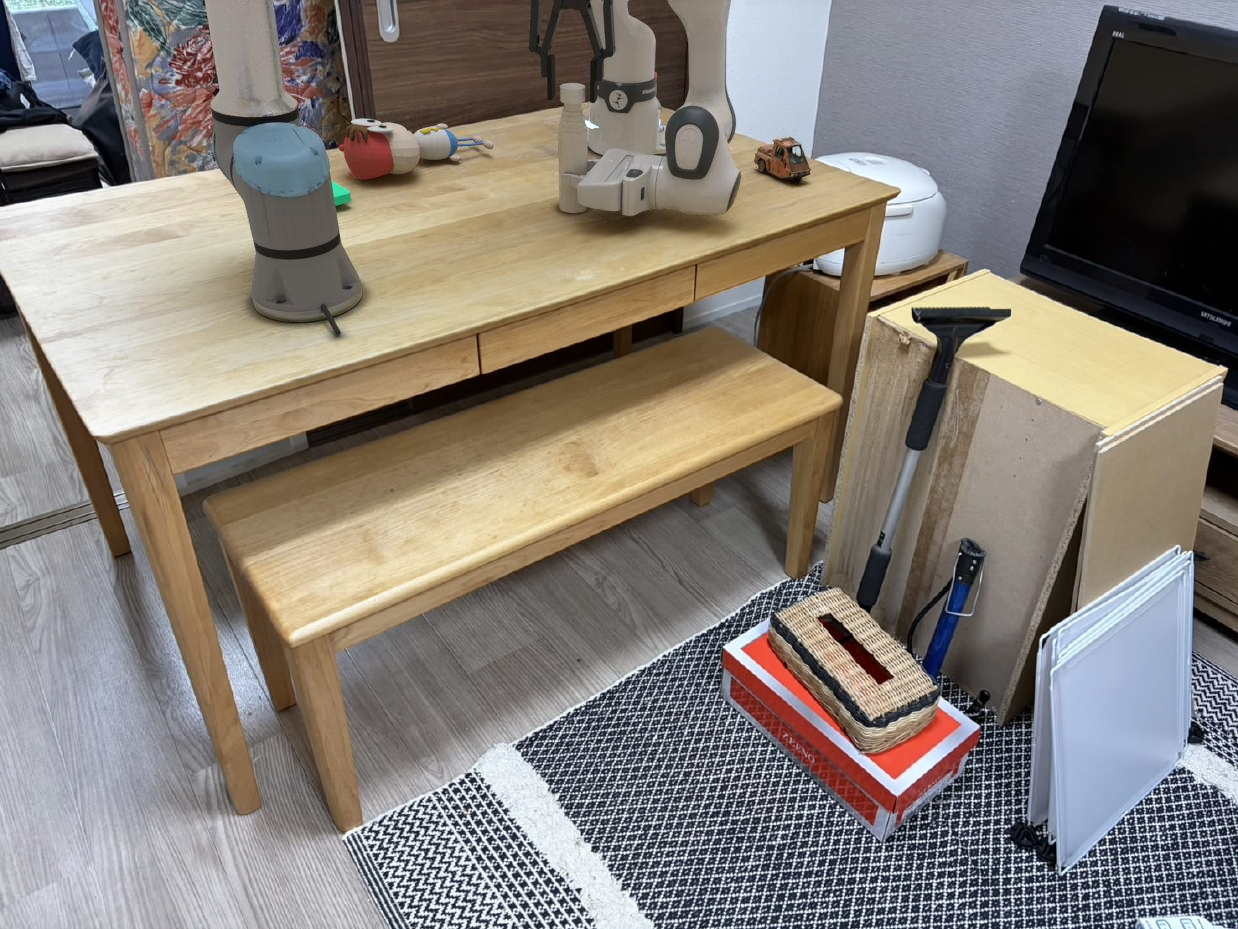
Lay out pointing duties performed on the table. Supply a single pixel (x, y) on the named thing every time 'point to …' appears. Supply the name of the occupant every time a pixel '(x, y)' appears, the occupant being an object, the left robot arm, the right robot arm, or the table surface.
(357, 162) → the toy
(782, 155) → the toy car
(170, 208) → the table surface
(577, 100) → the cap
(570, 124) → the bottle
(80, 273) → the table surface
